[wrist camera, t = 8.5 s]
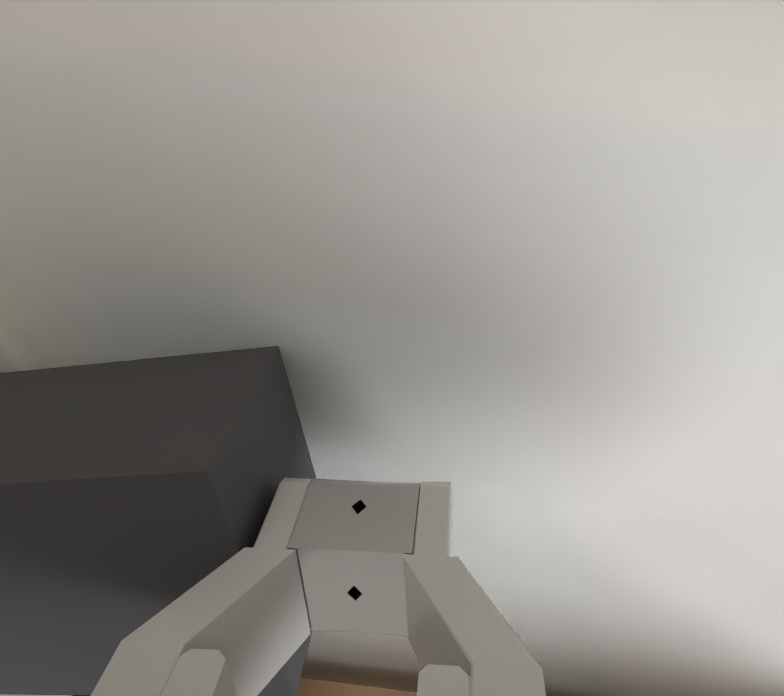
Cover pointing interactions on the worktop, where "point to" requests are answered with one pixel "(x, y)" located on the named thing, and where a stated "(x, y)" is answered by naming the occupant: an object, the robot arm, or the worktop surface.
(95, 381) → the block
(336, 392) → the worktop surface
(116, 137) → the worktop surface
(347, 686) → the gate
